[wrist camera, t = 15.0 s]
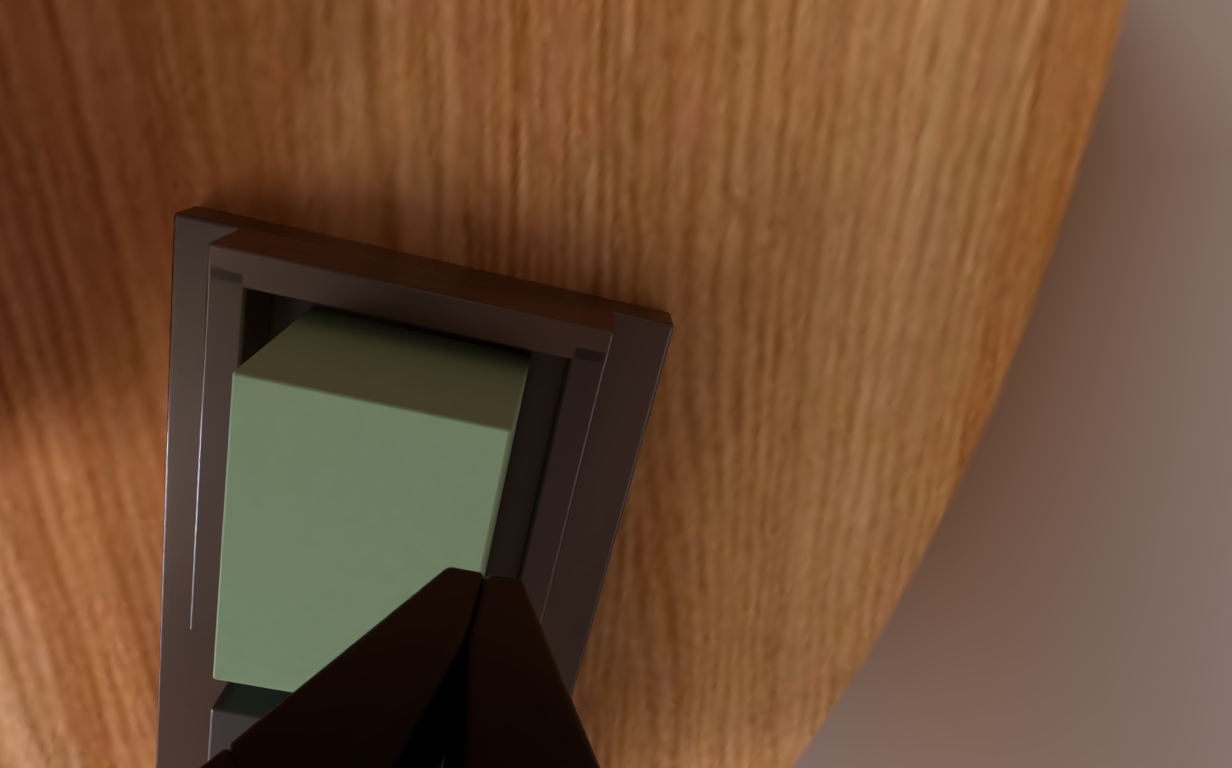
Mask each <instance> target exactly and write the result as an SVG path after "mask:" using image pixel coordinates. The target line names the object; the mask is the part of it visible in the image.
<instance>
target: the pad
mask: <svg viewBox="0 0 1232 768" xmlns="http://www.w3.org/2000/svg"><path fill="white" fill-rule="evenodd" d="M530 360H531V359H530V357H529V356H527V355H522V354H518V353H513V352H508V351H504V350H499V349H495V348H490V347H485V346H481V345H476V344H472V343H467V342H462V341H458V340H453V339H449V338H444V337H439V336H435V335H430V334H426V333H421V332H416V331H412V330H407V329H403V328H398V327H393V326H389V325H384V324H380V323H375V322H370V321H366V320H361V319H357V318H352V317H347V316H343V315H338V314H334V313H329V312H324V311H320V310H315V309H309V310H308V311H307V312H305V313H304V314H303V315H302V316H301V317H299V318H298V319H297V320H296V321H294V322H293V323H292V324H291V325H290V326H288V327H287V328H286V329H285V330H284V331H282V332H281V333H280V334H279V335H278V336H276V337H275V338H274V339H273V340H271V341H270V342H269V343H268V344H267V345H265V346H264V347H263V348H262V349H261V350H259V351H258V352H257V353H256V354H255V355H253V356H252V357H251V358H250V359H248V360H247V361H246V362H245V363H244V364H242V365H241V366H240V367H239V368H238V369H236V370H235V371H234V372H233V375H232V391H231V406H230V422H229V437H228V452H227V468H226V483H225V499H224V514H223V529H222V545H221V560H220V575H219V591H218V606H217V622H216V637H215V652H214V668H213V678H214V679H217V680H223V681H229V682H235V683H241V684H247V685H252V686H258V687H264V688H270V689H276V690H282V691H288V692H294V691H295V690H297V689H298V688H299V687H300V686H302V685H303V684H304V683H305V682H306V681H308V680H309V679H310V678H311V677H313V676H314V675H315V674H316V673H318V672H319V671H320V670H321V669H322V668H324V667H325V666H326V665H327V664H329V663H330V662H331V661H332V660H334V659H335V658H336V657H337V656H338V655H340V654H341V653H342V652H343V651H345V650H346V649H347V648H348V647H350V646H351V645H352V644H353V643H354V642H356V641H357V640H358V639H359V638H361V637H362V636H363V635H364V634H366V633H367V632H368V631H369V630H370V629H372V628H373V627H374V626H375V625H377V624H378V623H379V622H380V621H381V620H383V619H384V618H385V617H386V616H388V615H389V614H390V613H391V612H393V611H394V610H395V609H396V608H397V607H399V606H400V605H401V604H402V603H404V602H405V601H406V600H407V599H409V598H410V597H411V596H412V595H413V594H415V593H416V592H417V591H418V590H420V589H421V588H422V587H423V586H425V585H426V584H427V583H428V582H429V581H431V580H432V579H433V578H434V577H436V576H437V575H438V574H439V573H441V572H442V571H443V570H444V569H446V568H448V567H456V568H461V569H466V570H471V571H476V572H480V573H481V574H482V575H483V577H484V579H485V574H486V569H487V564H488V560H489V555H490V550H491V545H492V541H493V536H494V531H495V526H496V522H497V517H498V512H499V507H500V503H501V498H502V493H503V489H504V484H505V479H506V474H507V470H508V465H509V460H510V455H511V451H512V446H513V441H514V436H515V432H516V427H517V422H518V417H519V413H520V408H521V403H522V398H523V394H524V389H525V384H526V379H527V375H528V370H529V365H530Z"/></svg>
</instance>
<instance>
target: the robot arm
mask: <svg viewBox="0 0 1232 768" xmlns="http://www.w3.org/2000/svg"><path fill="white" fill-rule="evenodd" d="M444 756H445V757H444ZM443 760H444V762H443ZM442 764H443V767H442ZM200 768H600V766H599V764H598V761H597V759H596V756H595V754H594V752H593V749H592V747H591V744H590V742H589V740H588V737H587V735H586V732H585V730H584V727H583V725H582V723H581V720H580V718H579V715H578V713H577V711H576V708H575V706H574V703H573V701H572V698H571V696H570V694H569V691H568V689H567V686H566V684H565V682H564V679H563V677H562V674H561V672H560V670H559V667H558V665H557V662H556V660H555V657H554V655H553V653H552V650H551V648H550V645H549V643H548V641H547V638H546V636H545V633H544V631H543V628H542V626H541V624H540V621H539V619H538V616H537V614H536V612H535V609H534V607H533V604H532V602H531V599H530V597H529V595H528V592H527V590H526V587H525V585H524V583H523V582H522V581H521V580H518V579H513V578H507V577H502V576H497V575H488V576H487V577H486V578H485V580H484V577H483V575H482V574H481V573H480V572H476V571H471V570H466V569H461V568H456V567H448V568H446V569H444V570H443V571H442V572H441V573H439V574H438V575H437V576H436V577H434V578H433V579H432V580H431V581H429V582H428V583H427V584H426V585H425V586H423V587H422V588H421V589H420V590H418V591H417V592H416V593H415V594H413V595H412V596H411V597H410V598H409V599H407V600H406V601H405V602H404V603H402V604H401V605H400V606H399V607H397V608H396V609H395V610H394V611H393V612H391V613H390V614H389V615H388V616H386V617H385V618H384V619H383V620H381V621H380V622H379V623H378V624H377V625H375V626H374V627H373V628H372V629H370V630H369V631H368V632H367V633H366V634H364V635H363V636H362V637H361V638H359V639H358V640H357V641H356V642H354V643H353V644H352V645H351V646H350V647H348V648H347V649H346V650H345V651H343V652H342V653H341V654H340V655H338V656H337V657H336V658H335V659H334V660H332V661H331V662H330V663H329V664H327V665H326V666H325V667H324V668H322V669H321V670H320V671H319V672H318V673H316V674H315V675H314V676H313V677H311V678H310V679H309V680H308V681H306V682H305V683H304V684H303V685H302V686H300V687H299V688H298V689H297V690H295V691H294V692H293V693H292V694H290V695H289V696H288V697H287V698H286V699H284V700H283V701H282V702H281V703H279V704H278V705H277V706H276V707H274V708H273V709H272V710H271V711H270V712H268V713H267V714H266V715H265V716H263V717H262V718H261V719H260V720H258V721H257V722H256V723H255V724H254V725H252V726H251V727H250V728H249V729H247V730H246V731H245V732H244V733H242V734H241V735H240V736H239V737H238V738H236V739H235V740H234V741H233V742H231V743H230V745H229V749H222V750H221V751H220V752H218V753H217V754H216V755H215V756H213V757H212V758H211V759H210V760H209V761H207V762H206V763H205V764H204V765H203V766H201V767H200Z"/></svg>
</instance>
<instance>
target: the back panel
mask: <svg viewBox="0 0 1232 768" xmlns="http://www.w3.org/2000/svg"><path fill="white" fill-rule="evenodd" d="M309 309H315V310H320V311H324V312H329V313H334V314H338V315H343V316H347V317H352V318H357V319H361V320H366V321H370V322H375V323H380V324H384V325H389V326H393V327H398V328H403V329H407V330H412V331H416V332H421V333H426V334H430V335H435V336H439V337H444V338H449V339H453V340H458V341H462V342H467V343H472V344H476V345H481V346H485V347H490V348H495V349H499V350H504V351H508V352H513V353H518V354H522V355H527V356H529V357H530V359H531V360H530V365H529V370H528V375H527V379H526V384H525V389H524V394H523V398H522V403H521V408H520V413H519V417H518V422H517V427H516V432H515V436H514V441H513V446H512V451H511V455H510V460H509V465H508V470H507V474H506V479H505V484H504V489H503V493H502V498H501V503H500V507H499V512H498V517H497V522H496V526H495V531H494V536H493V541H492V545H491V550H490V555H489V560H488V564H487V569H486V574H485V578H486V577H487V576H488V575H497V576H502V577H507V578H513V579H518V580H521V581H522V582H523V583H524V585H525V587H526V590H527V592H528V595H529V597H530V599H531V602H532V604H533V607H534V609H535V612H536V614H537V616H538V619H539V621H540V624H541V626H542V628H543V631H544V633H545V636H546V638H547V641H548V643H549V645H550V648H551V650H552V653H553V655H554V657H555V660H556V662H557V665H558V667H559V670H560V672H561V674H562V677H563V679H564V682H565V684H566V686H567V689H568V691H569V694H570V696H571V698H572V694H573V690H574V687H575V683H576V680H577V676H578V672H579V669H580V665H581V661H582V658H583V654H584V651H585V647H586V643H587V640H588V636H589V633H590V629H591V625H592V622H593V618H594V614H595V611H596V607H597V604H598V600H599V596H600V593H601V589H602V585H603V582H604V578H605V575H606V571H607V567H608V564H609V560H610V556H611V553H612V549H613V546H614V542H615V538H616V535H617V531H618V527H619V524H620V520H621V517H622V513H623V509H624V506H625V502H626V498H627V495H628V491H629V488H630V484H631V480H632V477H633V473H634V470H635V466H636V462H637V459H638V455H639V451H640V448H641V444H642V441H643V437H644V433H645V430H646V426H647V422H648V419H649V415H650V412H651V408H652V404H653V401H654V397H655V393H656V390H657V386H658V383H659V379H660V375H661V372H662V368H663V364H664V361H665V357H666V354H667V350H668V346H669V343H670V339H671V335H672V332H673V328H674V326H673V322H672V318H671V314H670V313H668V312H663V311H659V310H655V309H650V308H646V307H641V306H637V305H632V304H628V303H624V302H619V301H615V300H610V299H606V298H602V297H597V296H593V295H588V294H584V293H579V292H575V291H571V290H566V289H562V288H557V287H553V286H548V285H544V284H540V283H535V282H531V281H526V280H522V279H517V278H513V277H509V276H504V275H500V274H495V273H491V272H487V271H482V270H478V269H473V268H469V267H464V266H460V265H456V264H451V263H447V262H442V261H438V260H433V259H429V258H425V257H420V256H416V255H411V254H407V253H403V252H398V251H394V250H389V249H385V248H380V247H376V246H372V245H367V244H363V243H358V242H354V241H349V240H345V239H341V238H336V237H332V236H327V235H323V234H319V233H314V232H310V231H305V230H301V229H296V228H292V227H288V226H283V225H279V224H274V223H270V222H265V221H261V220H257V219H252V218H248V217H243V216H239V215H235V214H230V213H226V212H221V211H217V210H212V209H208V208H204V207H199V206H194V207H191V208H188V209H185V210H183V211H180V212H177V213H175V215H174V232H173V262H172V293H171V323H170V353H169V384H168V414H167V444H166V475H165V505H164V535H163V565H162V596H161V626H160V656H159V687H158V717H157V747H156V768H200V767H201V766H203V765H204V764H205V763H206V762H207V761H209V760H210V759H211V758H212V757H213V756H215V755H216V754H217V753H218V752H220V751H221V750H222V749H229V745H230V743H231V742H233V741H234V740H235V739H236V738H238V737H239V736H240V735H241V734H242V733H244V732H245V731H246V730H247V729H249V728H250V727H251V726H252V725H254V724H255V723H256V722H257V721H258V720H260V719H261V718H262V717H263V716H265V715H266V714H267V713H268V712H270V711H271V710H272V709H273V708H274V707H276V706H277V705H278V704H279V703H281V702H282V701H283V700H284V699H286V698H287V697H288V696H289V695H290V694H292V693H293V692H288V691H282V690H276V689H270V688H264V687H258V686H252V685H247V684H241V683H235V682H229V681H223V680H217V679H214V678H213V668H214V652H215V637H216V622H217V606H218V591H219V575H220V560H221V545H222V529H223V514H224V499H225V483H226V468H227V452H228V437H229V422H230V406H231V391H232V375H233V372H234V371H235V370H236V369H238V368H239V367H240V366H241V365H242V364H244V363H245V362H246V361H247V360H248V359H250V358H251V357H252V356H253V355H255V354H256V353H257V352H258V351H259V350H261V349H262V348H263V347H264V346H265V345H267V344H268V343H269V342H270V341H271V340H273V339H274V338H275V337H276V336H278V335H279V334H280V333H281V332H282V331H284V330H285V329H286V328H287V327H288V326H290V325H291V324H292V323H293V322H294V321H296V320H297V319H298V318H299V317H301V316H302V315H303V314H304V313H305V312H307V311H308V310H309ZM484 580H485V579H484ZM444 757H445V756H444ZM443 762H444V760H443ZM442 767H443V764H442Z"/></svg>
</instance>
